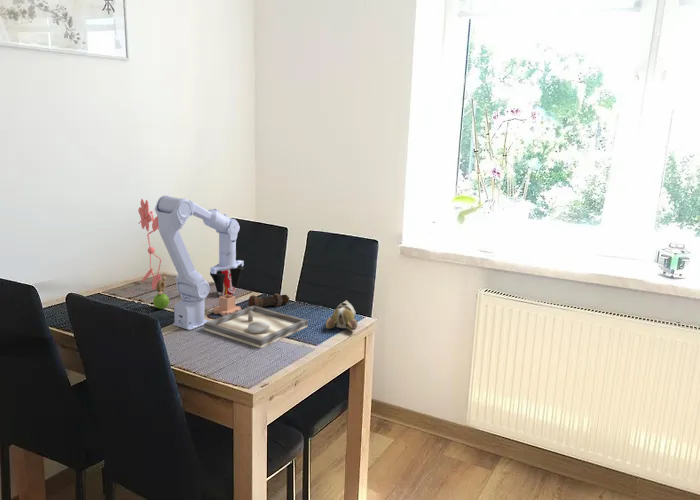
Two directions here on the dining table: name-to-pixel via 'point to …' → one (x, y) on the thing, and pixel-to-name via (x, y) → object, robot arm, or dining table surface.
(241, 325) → the carrier plate
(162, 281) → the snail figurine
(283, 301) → the bolt
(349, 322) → the ceramic sculpture
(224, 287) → the soda can
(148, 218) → the figurine
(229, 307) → the gear
